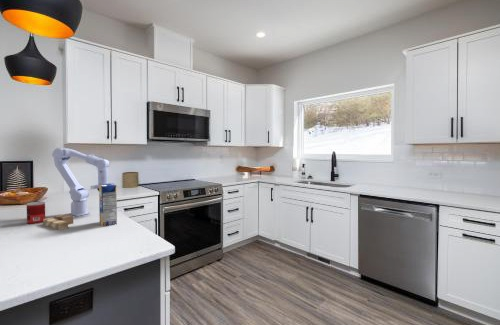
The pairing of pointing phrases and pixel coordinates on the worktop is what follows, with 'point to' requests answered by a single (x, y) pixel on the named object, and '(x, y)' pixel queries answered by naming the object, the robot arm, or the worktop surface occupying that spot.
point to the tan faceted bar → (55, 223)
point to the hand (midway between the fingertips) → (103, 198)
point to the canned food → (35, 212)
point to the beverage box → (108, 204)
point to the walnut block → (65, 218)
